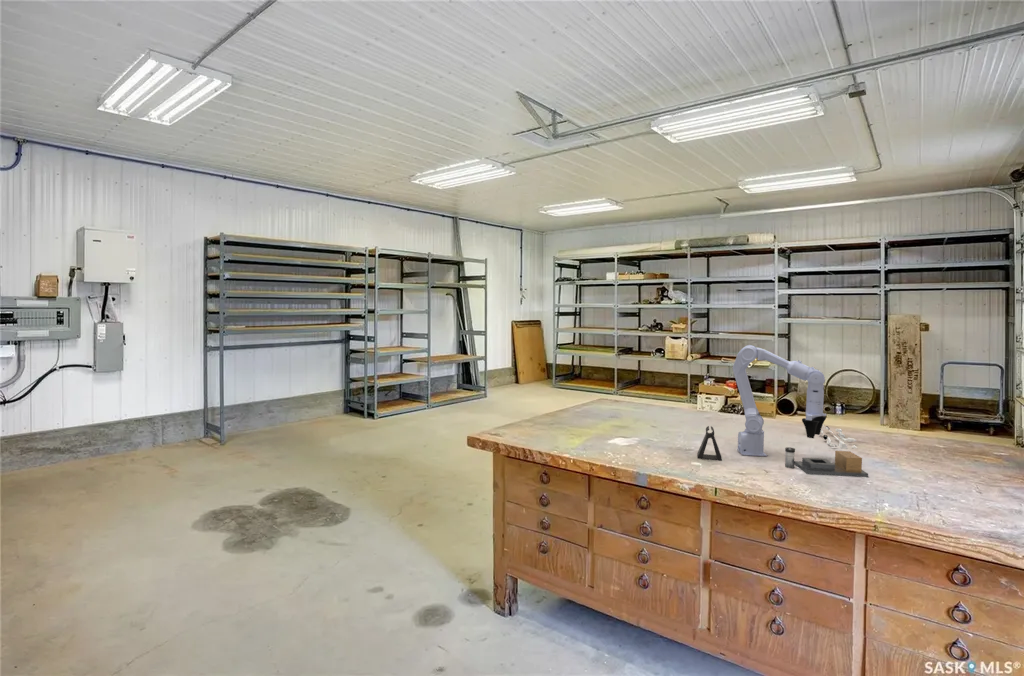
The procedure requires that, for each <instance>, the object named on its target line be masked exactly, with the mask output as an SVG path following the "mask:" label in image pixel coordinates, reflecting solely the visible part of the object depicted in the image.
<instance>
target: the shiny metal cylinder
mask: <svg viewBox="0 0 1024 676" xmlns="http://www.w3.org/2000/svg"><path fill="white" fill-rule="evenodd" d="M795 454H796V448H794V447H788V446H787V447H785V455H784V456H785V461H784V462H785V463H784V465H785V468H787V469H795V464H794V461H795V457H796V455H795Z"/></svg>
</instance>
